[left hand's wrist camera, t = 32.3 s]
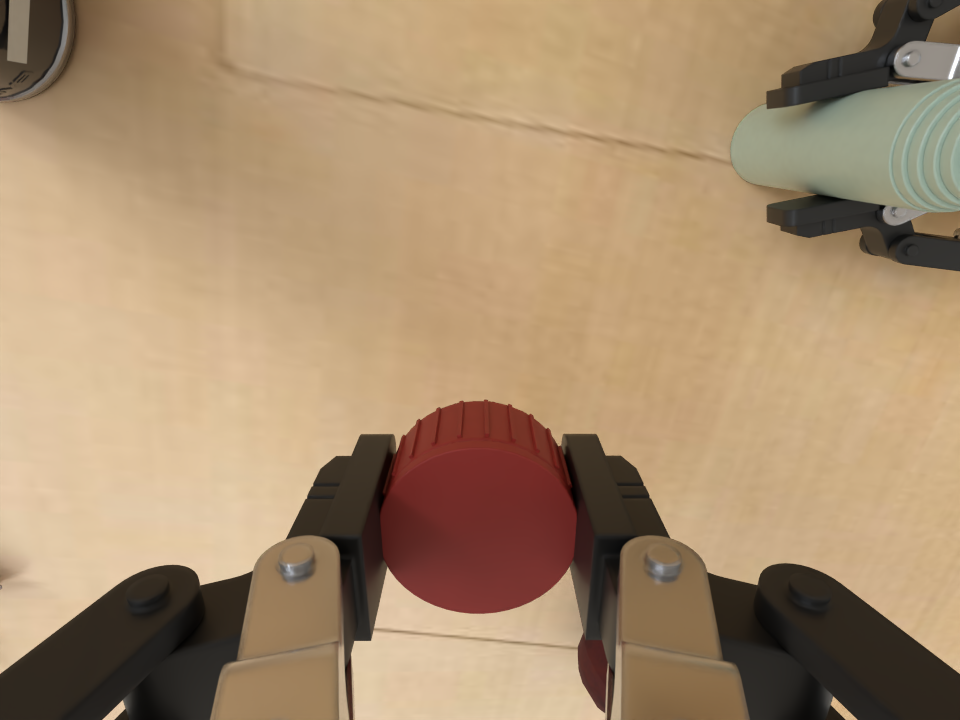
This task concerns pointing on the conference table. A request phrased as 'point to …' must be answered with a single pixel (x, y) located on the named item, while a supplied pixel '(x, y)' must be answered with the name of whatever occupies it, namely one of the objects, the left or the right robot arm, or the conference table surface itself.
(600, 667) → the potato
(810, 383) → the conference table surface
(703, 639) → the left robot arm
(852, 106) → the bottle
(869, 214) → the right robot arm
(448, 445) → the cap
